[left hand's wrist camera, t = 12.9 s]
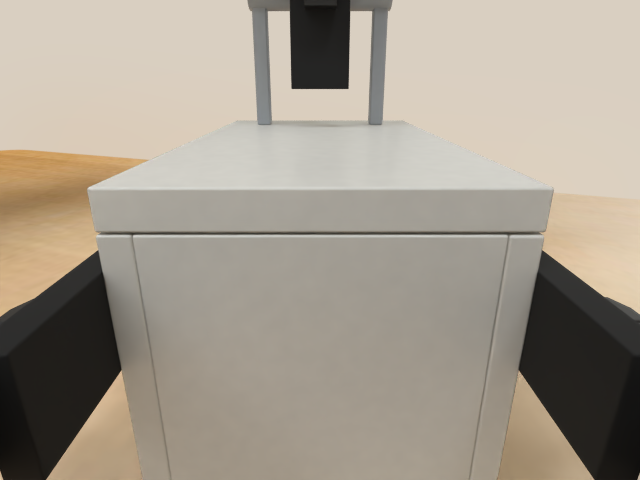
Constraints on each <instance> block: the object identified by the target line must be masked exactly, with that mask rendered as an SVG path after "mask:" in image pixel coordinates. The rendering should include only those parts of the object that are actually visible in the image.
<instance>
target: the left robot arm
mask: <svg viewBox="0 0 640 480" xmlns="http://www.w3.org/2000/svg"><path fill="white" fill-rule="evenodd" d="M121 370H122V369H121V364H120V359H119V354H118V349H117V343H116V338H115V333H114V328H113V323H112V318H111V313H110V307H109V302H108V297H107V292H106V287H105V282H104V276H103V271H102V266H101V261H100V256H99V251H97V252H95V253H94V254H93V255H91V256H90V257H89V258H87V259H86V260H85V261H83V262H82V263H81V264H79V265H78V266H77V267H76V268H74V269H73V270H72V271H70V272H69V273H68V274H66V275H65V276H64V277H62V278H61V279H60V280H58V281H57V282H56V283H54V284H53V285H52V286H50V287H49V288H48V289H46V290H45V291H44V292H43V293H41V294H40V295H39V296H37V297H36V298H35V299H32V300H30V301H28V302H26V303H23V304H21V305H19V306H17V307H15V308H13V309H11V310H9V311H8V312H6V313H5V314H4V315H2V316H1V317H0V471H1V474H2V477H3V480H46V479H47V477H48V476H49V475H50V473H51V472H52V470H53V469H54V467H55V466H56V464H57V463H58V461H59V460H60V459H61V457H62V456H63V454H64V453H65V451H66V450H67V448H68V447H69V446H70V444H71V443H72V441H73V440H74V438H75V437H76V435H77V434H78V432H79V431H80V430H81V428H82V427H83V425H84V424H85V422H86V421H87V419H88V418H89V416H90V415H91V414H92V412H93V411H94V409H95V408H96V406H97V405H98V403H99V402H100V401H101V399H102V398H103V396H104V395H105V393H106V392H107V390H108V389H109V387H110V386H111V385H112V383H113V382H114V380H115V379H116V377H117V376H118V374H119V373H120V371H121ZM519 371H520V372H521V374H522V375H523V377H524V378H525V380H526V381H527V382H528V384H529V385H530V387H531V388H532V390H533V391H534V393H535V394H536V395H537V397H538V398H539V400H540V401H541V403H542V404H543V406H544V407H545V409H546V410H547V411H548V413H549V414H550V416H551V417H552V419H553V420H554V422H555V423H556V424H557V426H558V427H559V429H560V430H561V432H562V433H563V435H564V436H565V438H566V439H567V440H568V442H569V443H570V445H571V446H572V448H573V449H574V451H575V452H576V453H577V455H578V456H579V458H580V459H581V461H582V462H583V464H584V465H585V467H586V468H587V469H588V471H589V472H590V474H591V475H592V477H593V478H594V480H637V479H638V476H639V473H640V314H638V313H637V312H635V311H634V310H633V309H631V308H629V307H627V306H625V305H623V304H621V303H619V302H616V301H614V300H612V299H610V298H608V297H603V296H602V295H601V294H599V293H598V292H597V291H595V290H594V289H593V288H591V287H590V286H589V285H587V284H586V283H585V282H583V281H582V280H581V279H580V278H578V277H577V276H576V275H574V274H573V273H572V272H570V271H569V270H568V269H566V268H565V267H564V266H562V265H561V264H560V263H558V262H557V261H556V260H554V259H553V258H552V257H550V256H549V255H548V254H547V253H545V252H544V251H543V250H542V252H541V258H540V263H539V268H538V273H537V278H536V283H535V288H534V293H533V298H532V303H531V309H530V314H529V319H528V324H527V329H526V334H525V340H524V345H523V350H522V355H521V360H520V365H519Z"/></svg>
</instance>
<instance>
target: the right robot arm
mask: <svg viewBox="0 0 640 480" xmlns="http://www.w3.org/2000/svg"><path fill="white" fill-rule="evenodd" d="M290 37H291V82H292V89H348V86H349V40H350V0H290Z"/></svg>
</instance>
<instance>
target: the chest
mask: <svg viewBox="0 0 640 480" xmlns="http://www.w3.org/2000/svg"><path fill="white" fill-rule="evenodd" d="M96 240H97V245H98V251H99V256H100V261H101V266H102V271H103V276H104V282H105V287H106V292H107V297H108V302H109V307H110V313H111V318H112V323H113V328H114V333H115V338H116V343H117V349H118V354H119V359H120V364H121V369H122V374H123V380H124V385H125V390H126V395H127V400H128V405H129V411H130V416H131V421H132V426H133V431H134V436H135V442H136V447H137V452H138V457H139V462H140V467H141V473H142V478H143V480H497V479H498V474H499V469H500V464H501V459H502V454H503V448H504V443H505V438H506V433H507V428H508V423H509V418H510V412H511V407H512V402H513V397H514V392H515V387H516V381H517V376H518V371H519V365H520V360H521V355H522V350H523V345H524V340H525V334H526V329H527V324H528V319H529V314H530V309H531V303H532V298H533V293H534V288H535V283H536V278H537V273H538V268H539V263H540V258H541V252H542V247H543V242H544V236H543V235H542V234H541V233H539V232H101V233H100V234H98V235H97V236H96Z"/></svg>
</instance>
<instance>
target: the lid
mask: <svg viewBox="0 0 640 480" xmlns="http://www.w3.org/2000/svg"><path fill="white" fill-rule="evenodd" d="M248 6H249V9H250V11H252V18H253V39H254V59H255V79H256V100H257V120H258V121H236V122H233V123H231V124H229V125H227V126H225V127H222V128H220V129H218V130H216V131H213V132H211V133H209V134H207V135H204V136H202V137H200V138H198V139H196V140H193V141H191V142H189V143H187V144H184V145H182V146H180V147H178V148H175V149H173V150H171V151H169V152H166V153H164V154H162V155H160V156H158V157H155V158H153V159H151V160H149V161H146V162H144V163H142V164H140V165H137V166H135V167H133V168H131V169H128V170H126V171H124V172H122V173H120V174H117V175H115V176H113V177H111V178H108V179H106V180H104V181H102V182H99V183H97V184H95V185H93V186H91V187H88V189H87V192H88V197H89V203H90V208H91V213H92V218H93V223H94V228H95V231H96V232H545V231H546V228H547V222H548V217H549V212H550V207H551V202H552V197H553V191H554V189H553V187H551V186H548V185H546V184H544V183H542V182H539V181H537V180H535V179H533V178H530V177H528V176H526V175H524V174H521V173H519V172H517V171H515V170H512V169H510V168H508V167H506V166H503V165H501V164H499V163H497V162H494V161H492V160H490V159H488V158H485V157H483V156H481V155H479V154H476V153H474V152H472V151H470V150H467V149H465V148H463V147H461V146H458V145H456V144H454V143H452V142H449V141H447V140H445V139H443V138H440V137H438V136H436V135H434V134H431V133H429V132H427V131H425V130H422V129H420V128H418V127H416V126H413V125H411V124H409V123H407V122H404V121H382V120H383V99H384V79H385V59H386V38H387V18H388V11H390V9H391V6H392V0H350V11H372V36H371V63H370V89H369V116H368V121H272V116H271V90H270V64H269V37H268V11H290V0H248Z"/></svg>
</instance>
